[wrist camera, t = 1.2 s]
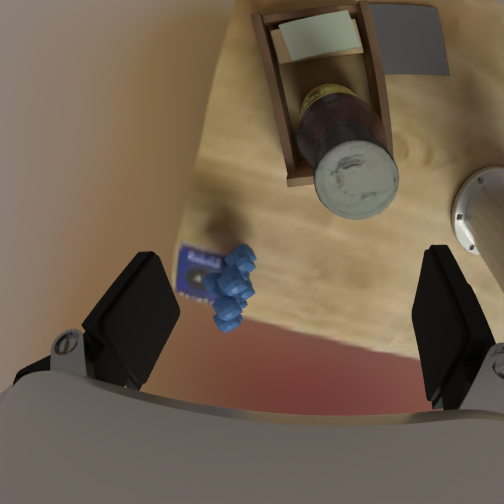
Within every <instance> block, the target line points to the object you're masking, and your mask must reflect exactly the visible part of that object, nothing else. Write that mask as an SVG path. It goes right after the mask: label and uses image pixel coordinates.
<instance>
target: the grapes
mask: <svg viewBox="0 0 504 504" xmlns="http://www.w3.org/2000/svg"><path fill="white" fill-rule="evenodd" d="M224 260H225V262H226V264H227V267H225V268H224V269H223V270H222V271H221V272H220V273H217V272H213V273H211V274H209V275H207V276H206V277H205V278H204V279H202V283H203V285H204V287H205V289H206V290H207V292H208V293H210V294H212V295H214V294H215V295H216V297H217V298H216V299H215V300H216V301H215V302H214V303H213V304H212V305H213V307H214V310H215V311H216V313H217V314H216V315H215V316H214V317H213V319H214V321H215V323H216V325H217V326H218V328H219V330H221V331H223V332H230V331H232V330H233V329H235V328H236V327H238V326H239V325H240V324H241V323H240V322H241V321H243V318H242V316H241V314H240V313H242V309H243V308H245V307H246V306H247V305H248V304H247V302H246V299H248V298H249V297H251V296H252V295H254V294H255V291H254V289H253V287H252V283H251V281H250V279H249V276H250V275H249V272H251V271H252V270H253V269H255V268H256V267H255V265H254V263H253V262H254V261H255V260H256V257H255V255H254V253H253V251H252V249H251V248H250V247H249V246H248V245H245V244H243V245H240V246H238V247H236V248H235V249H233V250H232V251H231V252H230V254H229V255H228V256H227V257H226V258H224Z"/></svg>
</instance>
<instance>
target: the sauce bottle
mask: <svg viewBox="0 0 504 504" xmlns="http://www.w3.org/2000/svg"><path fill="white" fill-rule="evenodd" d="M297 142H298V146H299V149H300V151H301V153H302V155H303V156H304V158H305V159H306V160H307V161H308V162H309V163H310V164H312V165H313V178H314V185H315V190H316V193H317V195H318V197H319V199H320V201H321V202H322V203H323V205H324V206H325V207H327V208H328V209H329V210H330V211H331V212H333V213H334V214H336V215H338V216H341V217H343V218H346V219H352V220H361V219H366V218H370V217H373V216H374V215H376V214H379V213H381V212H382V211H383V210H384V209H386V208H387V207H388V206H389V205H390V203H391V202H392V201H393V199H394V197H395V195H396V192H397V188H398V182H399V173H398V169H397V165H396V163H395V161H394V159H393V157H392V156H391V154H390V153H389V151H388V149H387V138H386V131H385V128H384V125H383V123H382V121H381V120H380V118H379V117H378V115H377V113H375V112H374V110H373V109H372V108H371V107H370V106H369V105H368V104H367V103H366V102H365V101H364V100H362V99H361V98H360V97H358V96H357V95H356V94H355V93H354V92H352V91H351V90H350V89H348V88H346V87H344V86H342V85H338V84H332V83H328V84H322V85H319V86H317V87H315V88H313V89H312V90H311V91H310V92H309V93H308V94H307V95H306V97H305V99H304V101H303V104H302V108H301V112H300V117H299V123H298V129H297Z"/></svg>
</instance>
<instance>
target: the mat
mask: <svg viewBox="0 0 504 504" xmlns="http://www.w3.org/2000/svg"><path fill="white" fill-rule="evenodd" d="M369 7H370V11H371V15H372V19H373V23H374V27H375V31H376V36H377V40H378V45H379V50H380V55H381V60H382V65H383V71H384V74H434V75H449V69H448V62H447V56H446V50H445V44H444V39H443V34H442V29H441V25H440V21H439V16H438V12H437V8H436V7H427V6H415V5H399V4H369Z"/></svg>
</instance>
